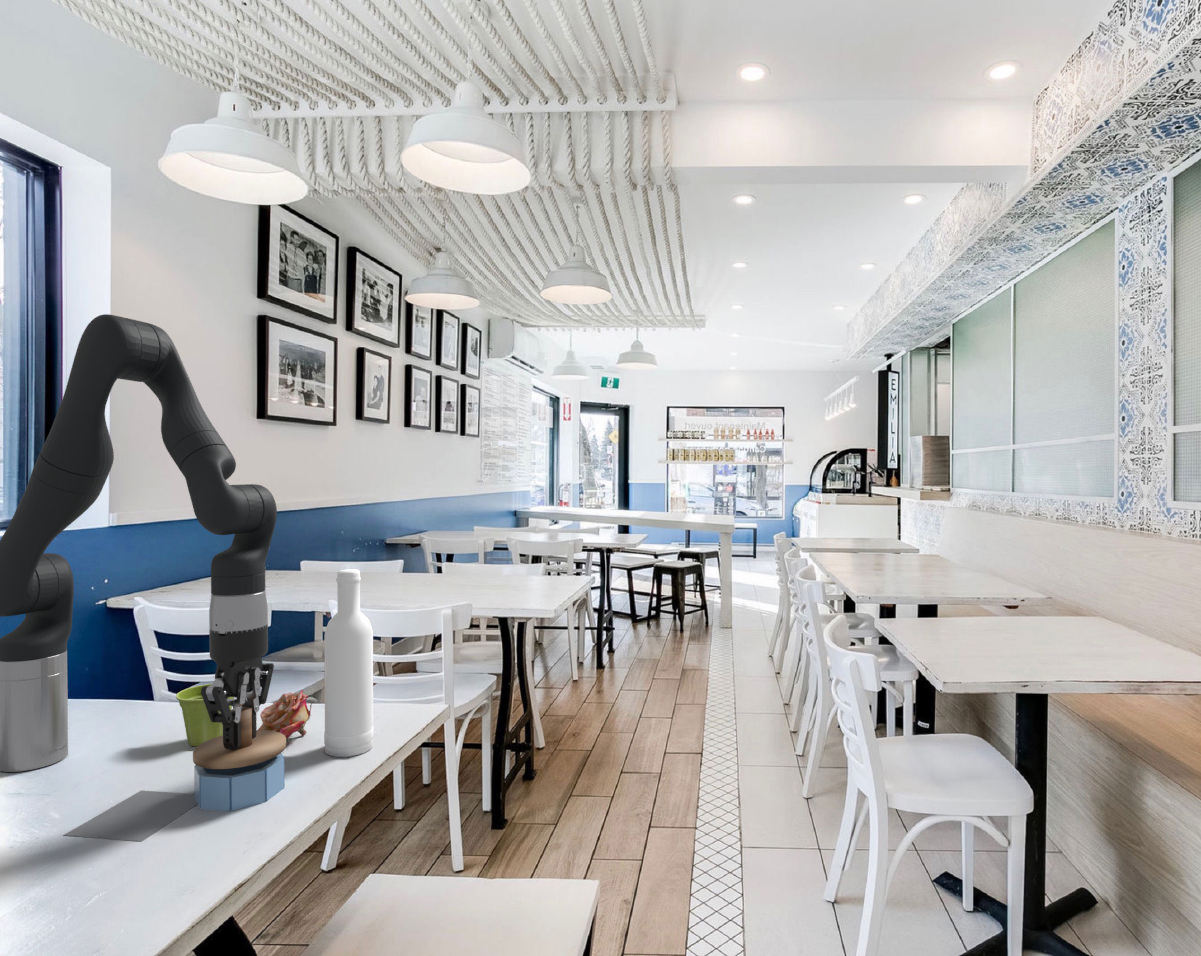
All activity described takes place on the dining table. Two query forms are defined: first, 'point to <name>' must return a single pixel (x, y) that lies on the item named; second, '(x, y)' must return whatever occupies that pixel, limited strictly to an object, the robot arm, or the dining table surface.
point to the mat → (137, 816)
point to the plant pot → (198, 716)
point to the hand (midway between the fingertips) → (240, 742)
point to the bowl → (239, 785)
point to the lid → (249, 751)
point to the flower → (286, 714)
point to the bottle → (348, 673)
